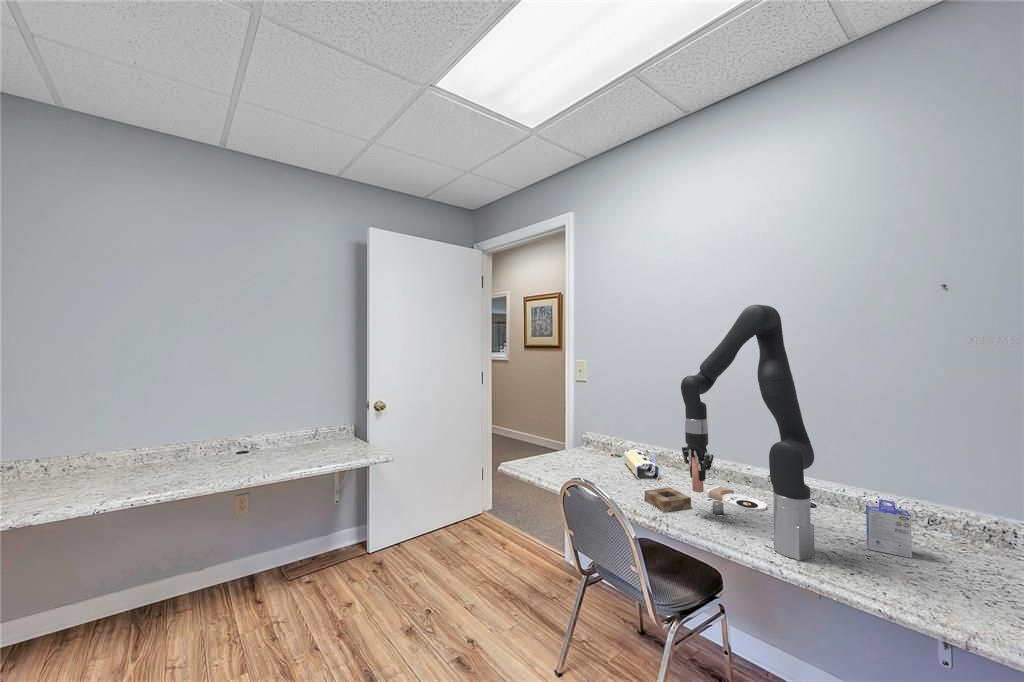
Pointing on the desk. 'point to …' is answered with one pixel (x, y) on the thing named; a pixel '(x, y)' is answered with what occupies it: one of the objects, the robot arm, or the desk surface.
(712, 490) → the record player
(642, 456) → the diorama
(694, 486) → the long pin
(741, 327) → the robot arm
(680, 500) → the hole block
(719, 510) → the short pin
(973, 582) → the desk surface
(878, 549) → the ink cartridge box
